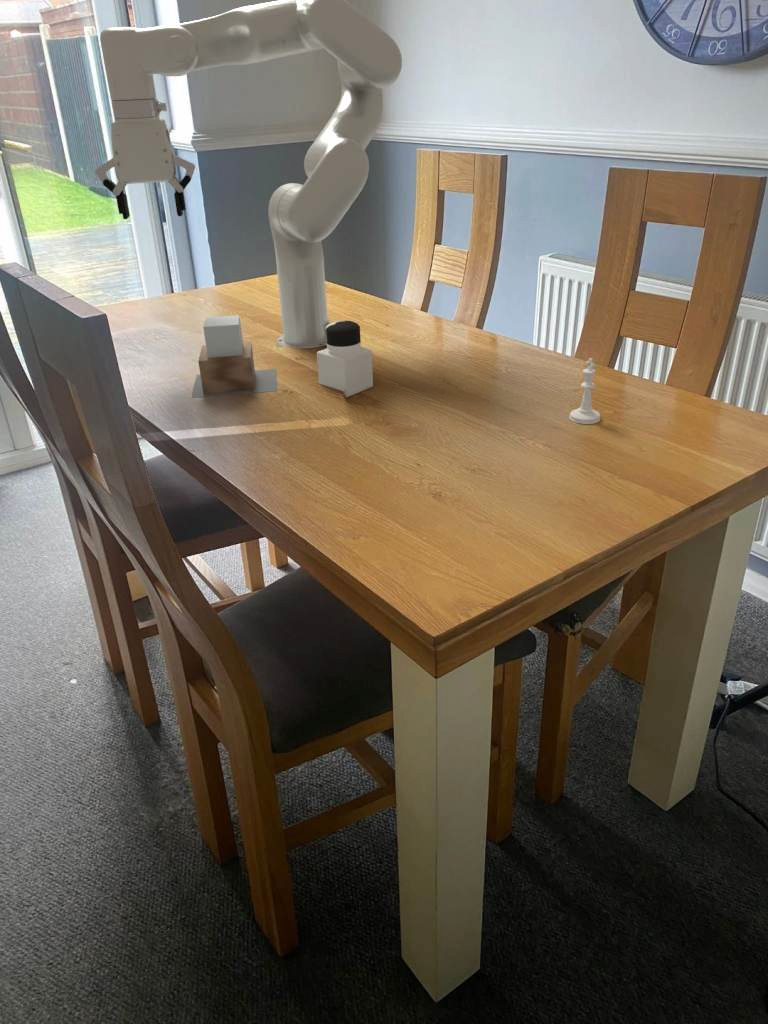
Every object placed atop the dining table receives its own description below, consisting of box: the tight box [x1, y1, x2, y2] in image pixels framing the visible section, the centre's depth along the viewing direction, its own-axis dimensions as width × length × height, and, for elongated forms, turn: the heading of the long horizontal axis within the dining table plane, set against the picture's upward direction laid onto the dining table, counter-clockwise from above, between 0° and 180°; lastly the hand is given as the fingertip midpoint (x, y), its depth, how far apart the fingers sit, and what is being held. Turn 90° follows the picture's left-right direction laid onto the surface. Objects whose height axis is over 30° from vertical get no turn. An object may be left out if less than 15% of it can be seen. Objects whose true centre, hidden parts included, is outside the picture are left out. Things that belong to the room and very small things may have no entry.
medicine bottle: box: [316, 320, 374, 398], centre depth 140 cm, size 7×7×12 cm
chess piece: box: [568, 357, 601, 425], centre depth 125 cm, size 5×5×10 cm
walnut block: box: [198, 341, 255, 394], centre depth 143 cm, size 9×9×6 cm
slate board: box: [190, 368, 278, 399], centre depth 145 cm, size 15×12×1 cm
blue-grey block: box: [202, 314, 244, 358], centre depth 140 cm, size 6×6×6 cm
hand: (153, 216), depth 144 cm, fingers open, 9 cm apart
